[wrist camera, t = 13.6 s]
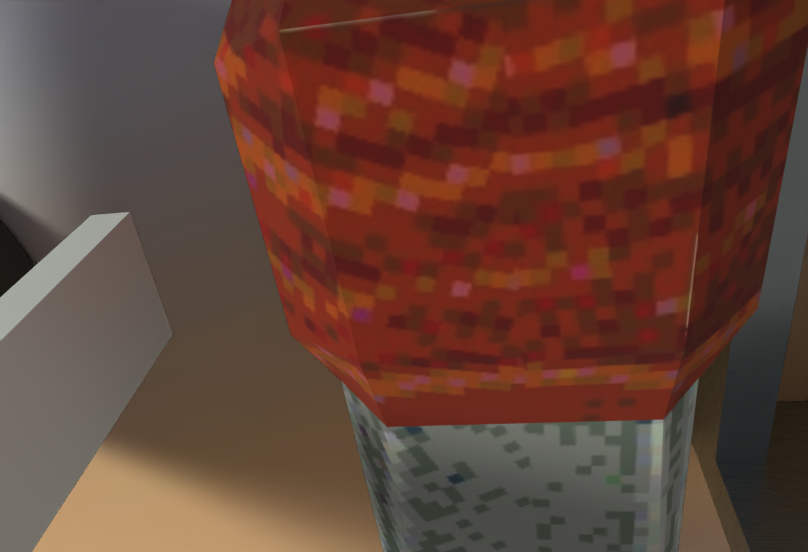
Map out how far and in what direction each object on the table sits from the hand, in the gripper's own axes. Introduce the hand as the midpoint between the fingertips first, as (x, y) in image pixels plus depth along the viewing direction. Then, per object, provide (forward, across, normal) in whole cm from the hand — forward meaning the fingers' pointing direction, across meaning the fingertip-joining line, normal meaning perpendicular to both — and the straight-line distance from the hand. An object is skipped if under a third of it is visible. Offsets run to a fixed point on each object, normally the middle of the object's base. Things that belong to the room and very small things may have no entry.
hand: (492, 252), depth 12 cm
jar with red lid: (+15, 0, 0) cm, 15 cm away
